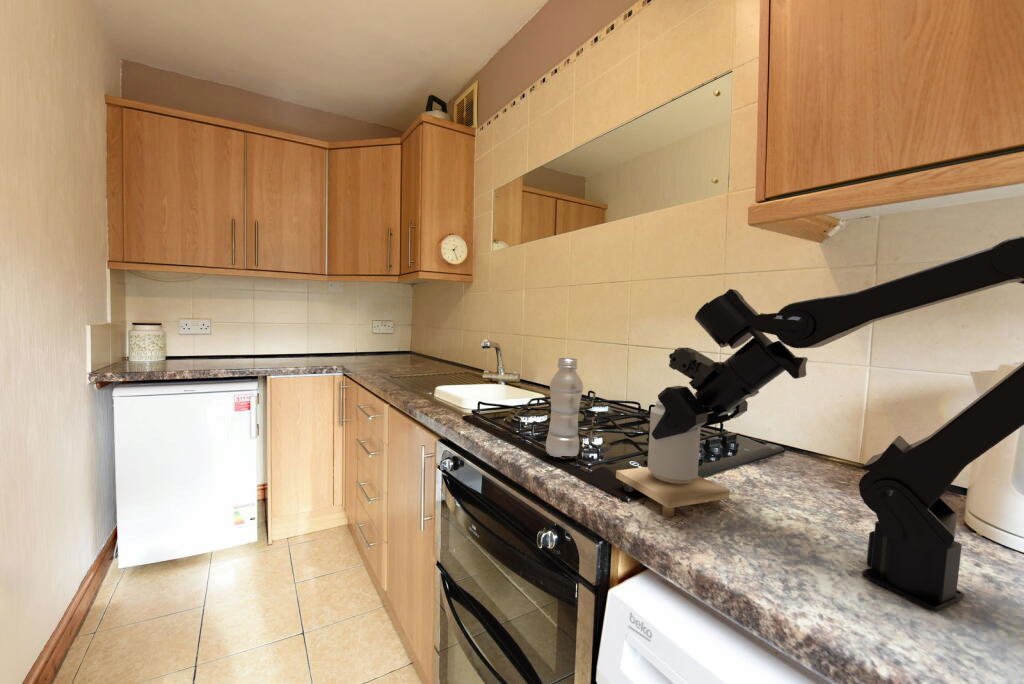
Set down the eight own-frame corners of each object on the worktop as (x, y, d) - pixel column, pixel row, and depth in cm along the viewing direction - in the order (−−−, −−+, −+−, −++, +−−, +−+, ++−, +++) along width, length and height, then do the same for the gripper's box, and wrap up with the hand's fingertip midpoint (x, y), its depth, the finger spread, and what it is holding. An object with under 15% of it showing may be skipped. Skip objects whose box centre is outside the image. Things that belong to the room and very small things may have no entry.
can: (656, 484, 64) (661, 405, 64) (640, 467, 72) (645, 396, 71) (706, 486, 64) (711, 407, 64) (685, 469, 72) (689, 398, 71)
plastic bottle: (541, 453, 88) (546, 356, 87) (572, 452, 90) (578, 357, 88) (549, 463, 82) (555, 359, 81) (583, 463, 83) (589, 361, 82)
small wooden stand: (728, 509, 65) (729, 490, 65) (667, 520, 61) (669, 499, 60) (670, 480, 76) (671, 464, 76) (615, 488, 72) (616, 470, 71)
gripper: (731, 331, 70) (665, 388, 79) (675, 329, 58) (603, 397, 67) (782, 385, 65) (705, 440, 73) (732, 396, 52) (646, 460, 61)
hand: (666, 433), depth 69 cm, fingers closed on can, 7 cm apart
